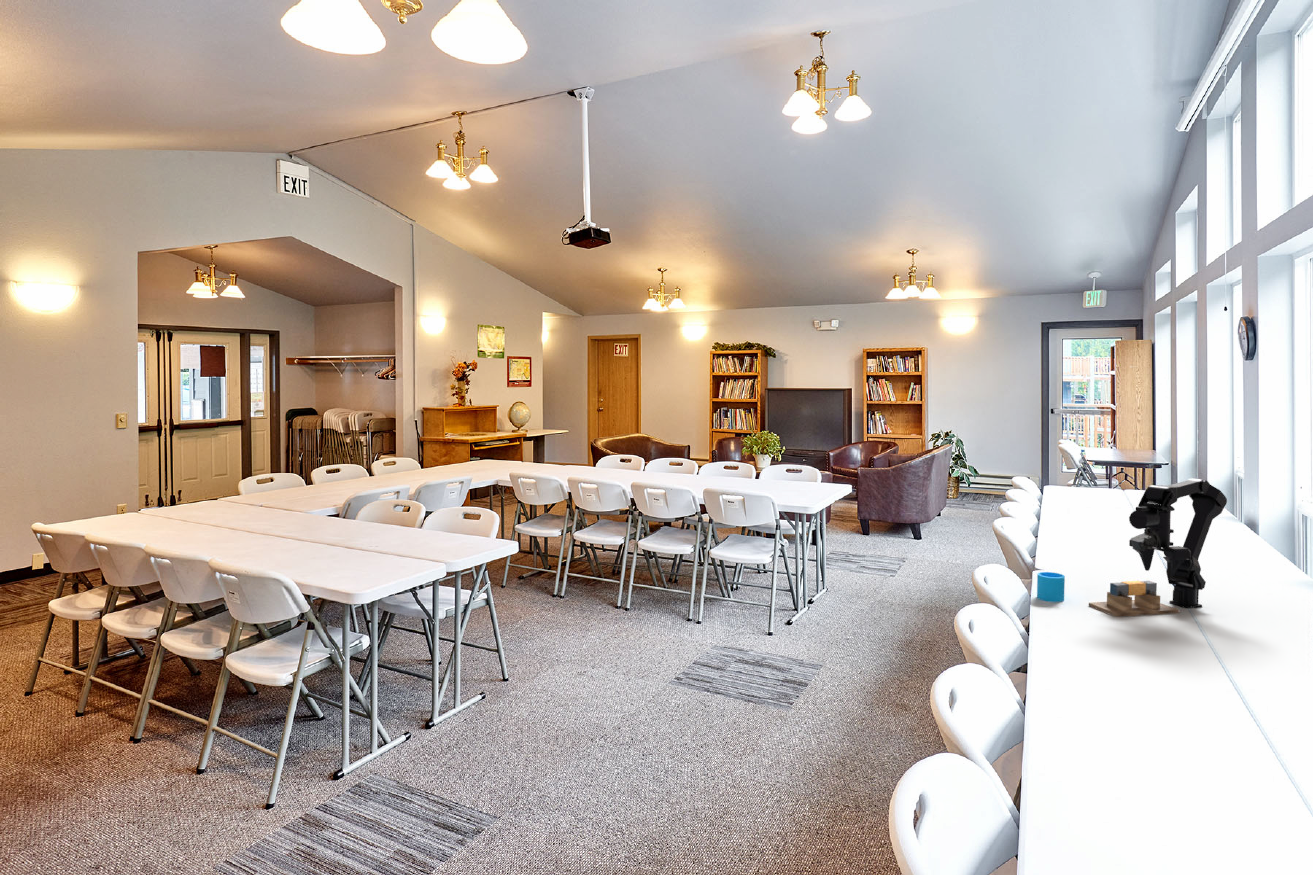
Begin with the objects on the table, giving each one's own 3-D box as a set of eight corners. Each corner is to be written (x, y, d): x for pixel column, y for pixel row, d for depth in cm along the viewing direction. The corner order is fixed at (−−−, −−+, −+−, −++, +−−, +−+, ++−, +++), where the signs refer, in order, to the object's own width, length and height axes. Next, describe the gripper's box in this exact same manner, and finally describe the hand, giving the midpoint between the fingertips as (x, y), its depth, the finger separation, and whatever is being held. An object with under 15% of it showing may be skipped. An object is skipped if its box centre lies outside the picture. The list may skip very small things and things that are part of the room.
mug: (1059, 603, 248) (1060, 579, 248) (1033, 599, 254) (1034, 575, 254) (1070, 595, 257) (1071, 572, 256) (1045, 591, 263) (1045, 568, 262)
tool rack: (1148, 601, 249) (1149, 583, 248) (1179, 612, 237) (1179, 593, 236) (1088, 605, 245) (1089, 587, 245) (1116, 616, 234) (1116, 597, 233)
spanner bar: (1148, 591, 243) (1149, 580, 243) (1156, 593, 240) (1157, 582, 240) (1109, 593, 241) (1110, 582, 241) (1117, 596, 238) (1117, 584, 238)
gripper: (1114, 521, 246) (1113, 568, 247) (1159, 532, 227) (1158, 583, 229) (1145, 519, 247) (1144, 566, 248) (1192, 530, 229) (1191, 581, 230)
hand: (1158, 574), depth 239 cm, fingers open, 9 cm apart
